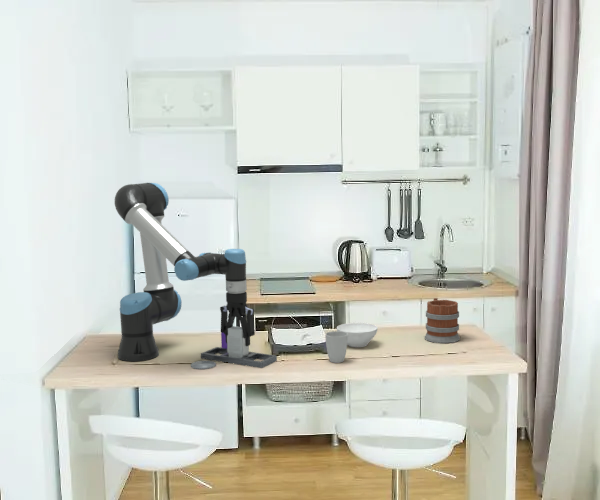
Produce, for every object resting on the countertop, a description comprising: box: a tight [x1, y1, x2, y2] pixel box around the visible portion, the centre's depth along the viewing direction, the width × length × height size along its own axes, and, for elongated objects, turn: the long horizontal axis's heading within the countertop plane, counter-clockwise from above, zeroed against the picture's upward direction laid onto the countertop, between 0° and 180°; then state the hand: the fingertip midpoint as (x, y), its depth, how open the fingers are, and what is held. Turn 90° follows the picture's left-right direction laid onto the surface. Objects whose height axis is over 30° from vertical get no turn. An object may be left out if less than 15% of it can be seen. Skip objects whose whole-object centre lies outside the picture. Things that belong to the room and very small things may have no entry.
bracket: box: [220, 333, 227, 348], centre depth 301 cm, size 12×7×7 cm, turn 177°
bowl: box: [336, 322, 379, 348], centre depth 298 cm, size 16×16×7 cm
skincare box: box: [228, 325, 248, 358], centre depth 281 cm, size 6×4×12 cm
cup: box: [324, 330, 348, 364], centre depth 277 cm, size 8×8×10 cm
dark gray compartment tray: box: [200, 346, 278, 369], centre depth 281 cm, size 27×10×2 cm, turn 60°
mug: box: [424, 297, 461, 344], centre depth 307 cm, size 14×19×15 cm
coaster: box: [190, 360, 217, 370], centre depth 275 cm, size 9×9×1 cm
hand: (238, 353), depth 281 cm, fingers closed on skincare box, 6 cm apart
